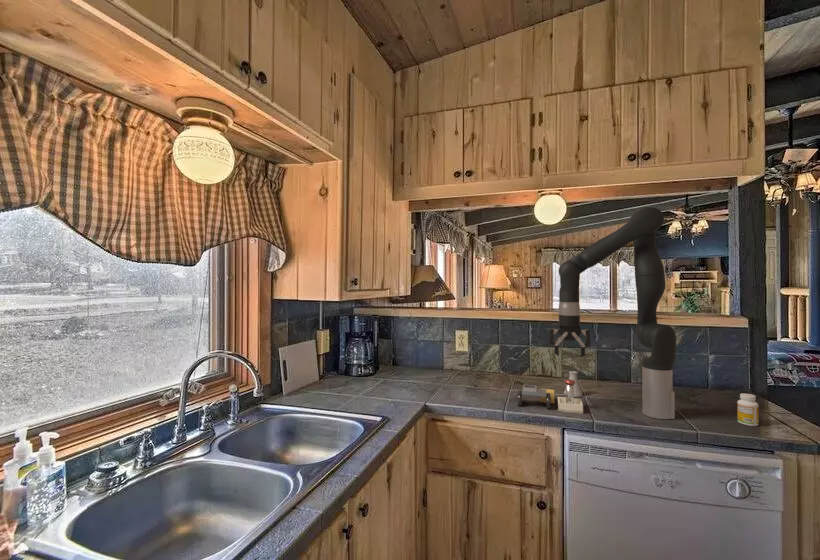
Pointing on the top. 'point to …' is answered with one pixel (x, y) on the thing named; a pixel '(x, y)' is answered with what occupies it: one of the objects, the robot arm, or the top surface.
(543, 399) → the block
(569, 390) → the pin
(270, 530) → the top surface
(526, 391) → the trolley
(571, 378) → the flask
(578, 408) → the tray
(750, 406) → the supplement bottle
